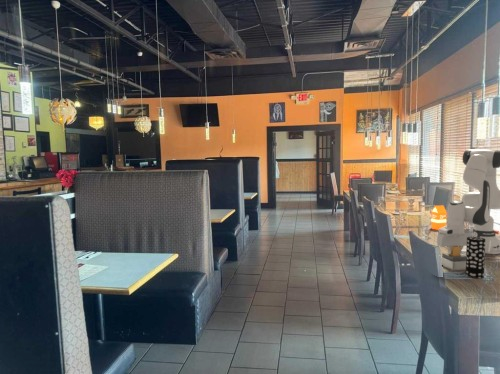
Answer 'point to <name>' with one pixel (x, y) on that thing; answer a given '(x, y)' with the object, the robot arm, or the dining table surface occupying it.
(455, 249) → the plug
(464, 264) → the bay
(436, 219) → the orange juice
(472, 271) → the white-spotted black cylinder
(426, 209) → the dining table surface
